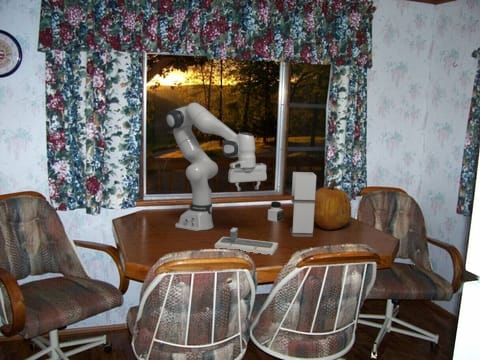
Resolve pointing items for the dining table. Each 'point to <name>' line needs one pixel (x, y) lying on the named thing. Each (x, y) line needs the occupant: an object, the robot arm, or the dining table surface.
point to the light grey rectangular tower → (303, 203)
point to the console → (248, 245)
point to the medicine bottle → (275, 212)
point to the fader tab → (233, 234)
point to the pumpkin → (331, 207)
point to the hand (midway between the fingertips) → (247, 190)
